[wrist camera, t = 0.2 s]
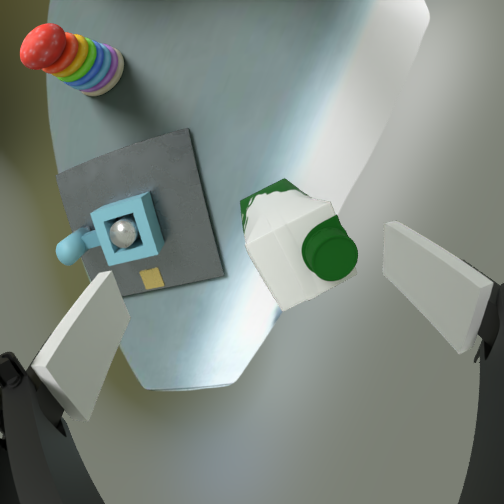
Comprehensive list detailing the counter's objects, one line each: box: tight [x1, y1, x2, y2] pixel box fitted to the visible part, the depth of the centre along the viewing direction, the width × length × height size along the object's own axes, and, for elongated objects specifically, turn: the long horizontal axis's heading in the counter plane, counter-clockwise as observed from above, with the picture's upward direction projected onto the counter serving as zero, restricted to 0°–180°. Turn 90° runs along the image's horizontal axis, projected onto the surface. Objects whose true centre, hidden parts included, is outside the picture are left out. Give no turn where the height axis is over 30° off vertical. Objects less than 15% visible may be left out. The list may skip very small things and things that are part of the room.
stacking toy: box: [20, 23, 124, 96], centre depth 21 cm, size 8×8×19 cm
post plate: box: [56, 128, 224, 296], centre depth 36 cm, size 22×22×6 cm
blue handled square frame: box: [56, 191, 165, 266], centre depth 35 cm, size 8×15×6 cm, turn 101°
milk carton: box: [240, 178, 358, 311], centre depth 31 cm, size 9×9×20 cm
